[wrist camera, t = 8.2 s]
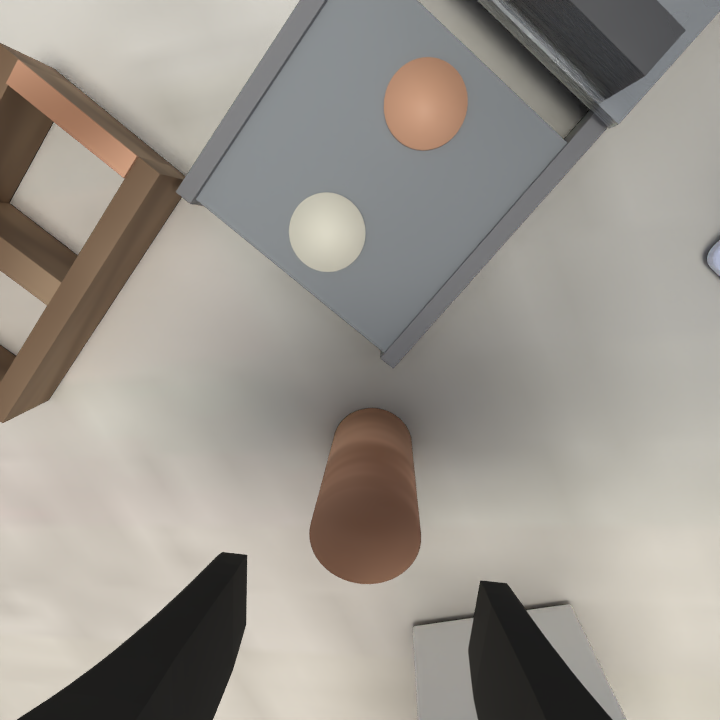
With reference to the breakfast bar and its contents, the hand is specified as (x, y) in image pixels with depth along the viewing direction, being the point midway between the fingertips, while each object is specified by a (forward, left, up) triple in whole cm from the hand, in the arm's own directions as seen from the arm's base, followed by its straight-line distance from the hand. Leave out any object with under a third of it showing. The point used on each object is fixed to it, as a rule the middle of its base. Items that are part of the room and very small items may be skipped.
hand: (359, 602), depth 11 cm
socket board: (+14, +2, -8) cm, 17 cm away
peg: (0, 0, -8) cm, 8 cm away
